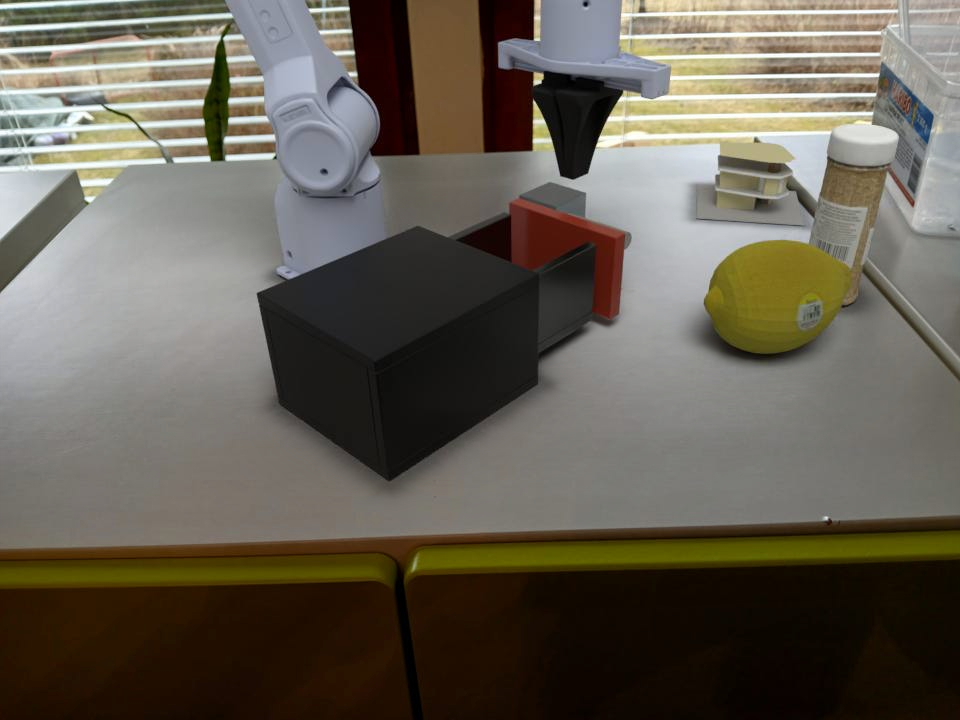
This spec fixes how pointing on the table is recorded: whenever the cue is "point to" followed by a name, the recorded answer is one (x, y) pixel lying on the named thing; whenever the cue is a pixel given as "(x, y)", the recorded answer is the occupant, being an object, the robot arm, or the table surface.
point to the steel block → (557, 198)
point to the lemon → (776, 295)
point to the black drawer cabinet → (402, 344)
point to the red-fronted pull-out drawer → (558, 262)
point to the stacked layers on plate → (751, 186)
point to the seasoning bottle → (852, 195)
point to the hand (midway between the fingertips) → (574, 174)
